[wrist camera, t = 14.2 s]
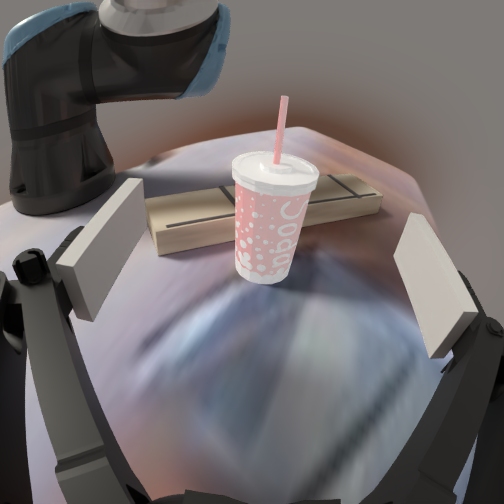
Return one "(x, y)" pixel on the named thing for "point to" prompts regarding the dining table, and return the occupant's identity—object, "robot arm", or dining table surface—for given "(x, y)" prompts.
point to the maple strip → (223, 212)
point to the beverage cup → (270, 208)
